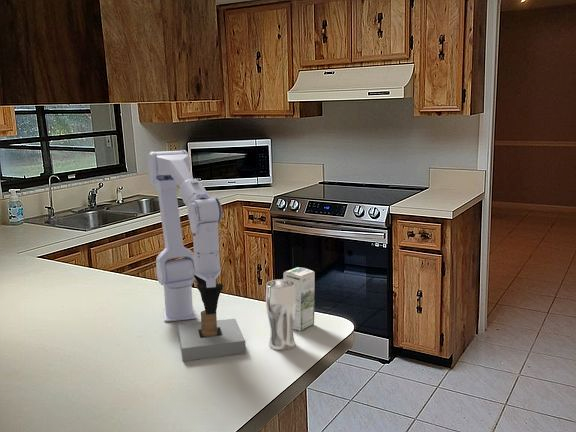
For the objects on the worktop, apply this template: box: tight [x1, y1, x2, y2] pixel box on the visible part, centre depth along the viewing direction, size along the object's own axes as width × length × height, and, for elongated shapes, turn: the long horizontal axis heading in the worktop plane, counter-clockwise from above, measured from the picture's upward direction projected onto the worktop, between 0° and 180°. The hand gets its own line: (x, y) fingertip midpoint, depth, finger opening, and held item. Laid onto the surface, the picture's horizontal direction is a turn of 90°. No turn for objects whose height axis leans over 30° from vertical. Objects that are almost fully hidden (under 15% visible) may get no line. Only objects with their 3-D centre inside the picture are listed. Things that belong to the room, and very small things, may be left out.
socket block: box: [177, 318, 246, 362], centre depth 128 cm, size 14×14×3 cm
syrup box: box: [282, 266, 316, 332], centre depth 137 cm, size 6×6×14 cm
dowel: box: [200, 309, 218, 338], centre depth 128 cm, size 4×4×8 cm
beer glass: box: [265, 278, 296, 351], centre depth 126 cm, size 7×7×15 cm
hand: (209, 307), depth 127 cm, fingers open, 7 cm apart
